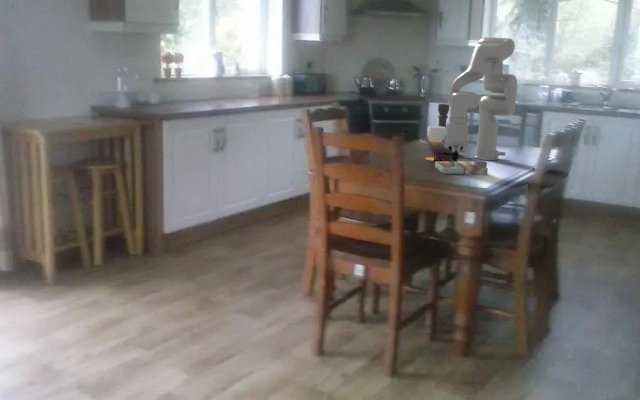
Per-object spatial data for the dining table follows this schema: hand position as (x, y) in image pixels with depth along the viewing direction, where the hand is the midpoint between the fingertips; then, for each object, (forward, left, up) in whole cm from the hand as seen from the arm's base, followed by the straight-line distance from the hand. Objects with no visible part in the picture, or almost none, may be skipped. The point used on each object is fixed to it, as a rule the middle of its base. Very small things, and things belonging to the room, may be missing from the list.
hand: (454, 160), depth 309 cm
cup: (+4, -24, -4) cm, 24 cm away
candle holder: (-4, -47, -4) cm, 47 cm away
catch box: (+3, +4, -4) cm, 7 cm away
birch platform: (-7, +4, -4) cm, 9 cm away
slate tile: (-10, +9, -1) cm, 13 cm away
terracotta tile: (+4, 0, -1) cm, 5 cm away
